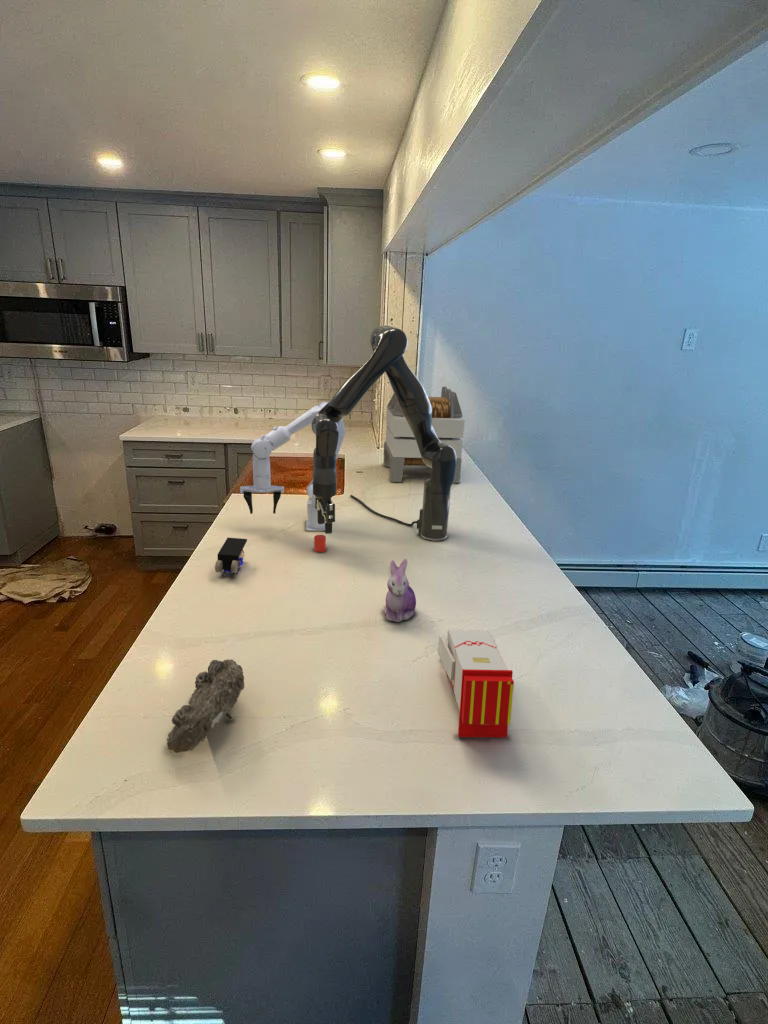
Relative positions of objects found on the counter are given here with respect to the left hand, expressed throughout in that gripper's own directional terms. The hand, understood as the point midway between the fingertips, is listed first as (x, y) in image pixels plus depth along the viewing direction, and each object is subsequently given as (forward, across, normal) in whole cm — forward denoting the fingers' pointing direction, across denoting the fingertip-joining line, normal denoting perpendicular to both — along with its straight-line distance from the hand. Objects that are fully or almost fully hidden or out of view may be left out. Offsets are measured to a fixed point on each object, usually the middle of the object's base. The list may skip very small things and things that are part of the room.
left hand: (263, 512), depth 195 cm
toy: (+7, +46, -92) cm, 104 cm away
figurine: (+7, +37, -60) cm, 71 cm away
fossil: (+7, -5, -95) cm, 95 cm away
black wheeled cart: (+7, -8, -30) cm, 32 cm away
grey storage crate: (+7, +71, +72) cm, 101 cm away
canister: (+7, +19, -17) cm, 26 cm away
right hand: (-1, +20, -18) cm, 27 cm away
